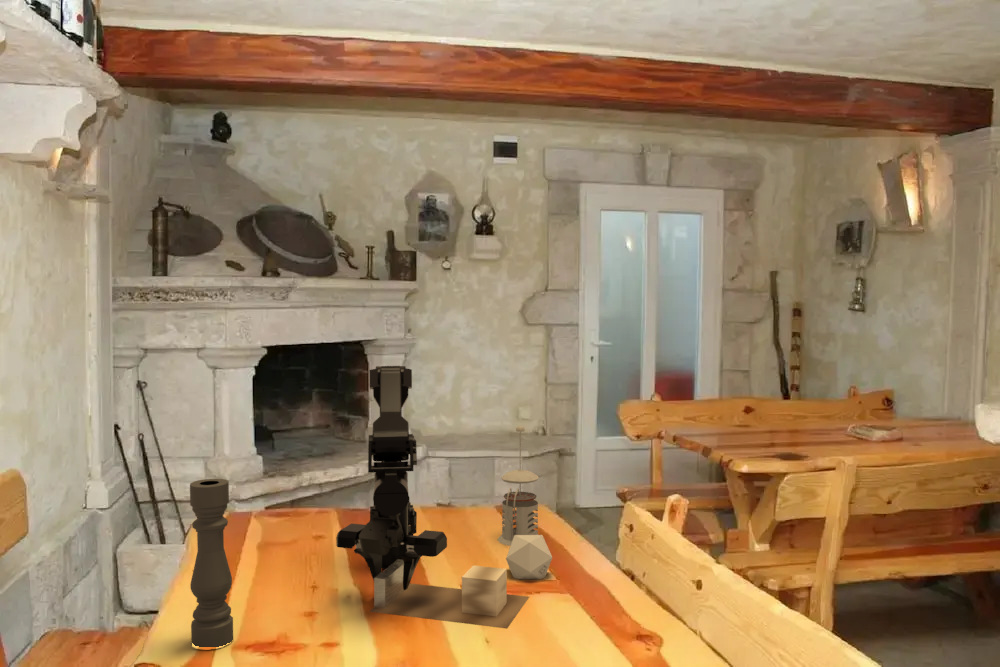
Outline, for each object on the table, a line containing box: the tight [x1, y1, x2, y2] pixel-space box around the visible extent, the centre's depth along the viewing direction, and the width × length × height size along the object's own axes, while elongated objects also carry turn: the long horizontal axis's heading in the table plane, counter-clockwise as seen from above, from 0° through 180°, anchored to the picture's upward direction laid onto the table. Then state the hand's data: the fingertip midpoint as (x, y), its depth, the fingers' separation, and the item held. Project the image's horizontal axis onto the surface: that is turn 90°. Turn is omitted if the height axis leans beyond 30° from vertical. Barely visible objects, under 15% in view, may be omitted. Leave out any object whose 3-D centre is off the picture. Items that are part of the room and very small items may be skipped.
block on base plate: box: [369, 559, 530, 629], centre depth 142 cm, size 24×14×6 cm, turn 73°
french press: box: [497, 425, 539, 547], centre depth 180 cm, size 10×12×25 cm
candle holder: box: [189, 478, 234, 647], centre depth 129 cm, size 6×6×25 cm
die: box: [505, 534, 553, 580], centre depth 157 cm, size 8×9×10 cm
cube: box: [461, 565, 508, 616], centre depth 140 cm, size 6×6×6 cm
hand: (391, 587), depth 145 cm, fingers open, 5 cm apart
